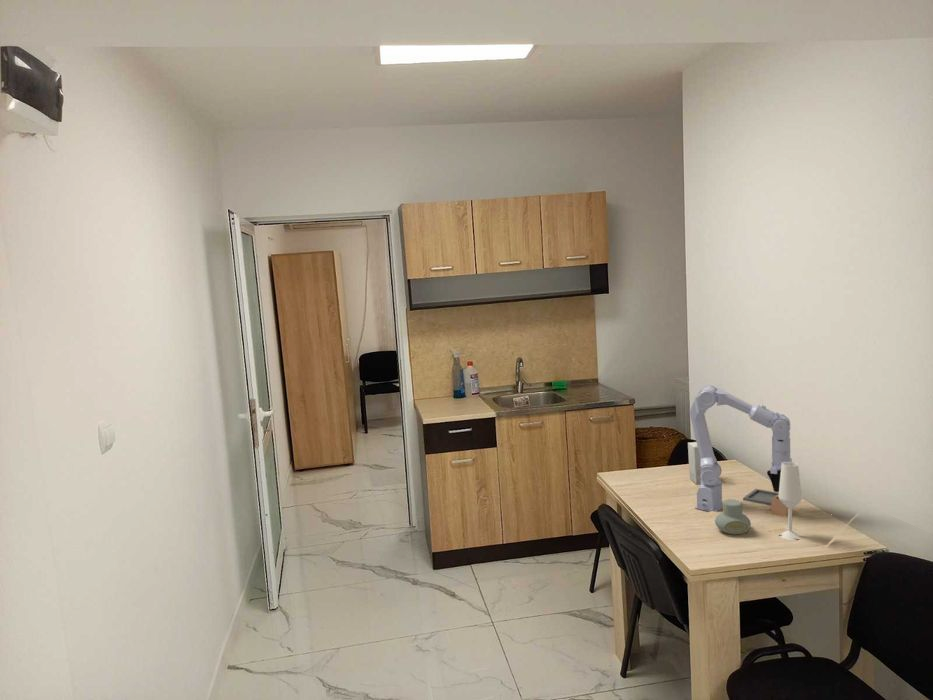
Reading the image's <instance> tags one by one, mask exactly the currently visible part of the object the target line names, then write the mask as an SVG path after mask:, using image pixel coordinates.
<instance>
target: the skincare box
mask: <svg viewBox="0 0 933 700" xmlns="http://www.w3.org/2000/svg"><path fill="white" fill-rule="evenodd" d="M687 450H688V453H687V455H688V469H689V474H688V475H689V480H691V482H692V483H693V484H695V485H701V478H700V474H701V459H700V455H699V450H698V446H697V442H696V441H693V442H687Z"/></svg>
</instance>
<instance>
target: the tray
mask: <svg viewBox="0 0 933 700" xmlns="http://www.w3.org/2000/svg"><path fill="white" fill-rule="evenodd" d="M776 495H779V492H774V491H771V490H765V489H758V488H755V489H754V490H752V491H750V492H749V493H748V494H746V495H745V496H744V497H742V500H743V501H745V502H752V503H756V504H761V505H766V506H770V507H771V499H772V498H773V497H774V496H776Z"/></svg>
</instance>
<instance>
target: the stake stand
mask: <svg viewBox="0 0 933 700" xmlns="http://www.w3.org/2000/svg"><path fill="white" fill-rule="evenodd" d="M797 512H798V510H797V509H796V510H795V509H792V516H793V515H795V514H796V513H797ZM765 514H769V515H773V516H778V517H782V518H783V517H784V518H787V519H788V515H787V516H786V515H781V514H776V513H771V508H770V509H769V510H767V511H766V512H765Z"/></svg>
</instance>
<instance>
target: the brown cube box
mask: <svg viewBox="0 0 933 700" xmlns="http://www.w3.org/2000/svg"><path fill="white" fill-rule="evenodd" d="M770 509H771V513H776V514H781V515H786V516H787V515H788V507H786V506H785V505H784V504H783V503H782V502H781V501H780V499H779V497H778V495H776V496H774V497H773V498H772V499H771V506H770Z"/></svg>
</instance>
